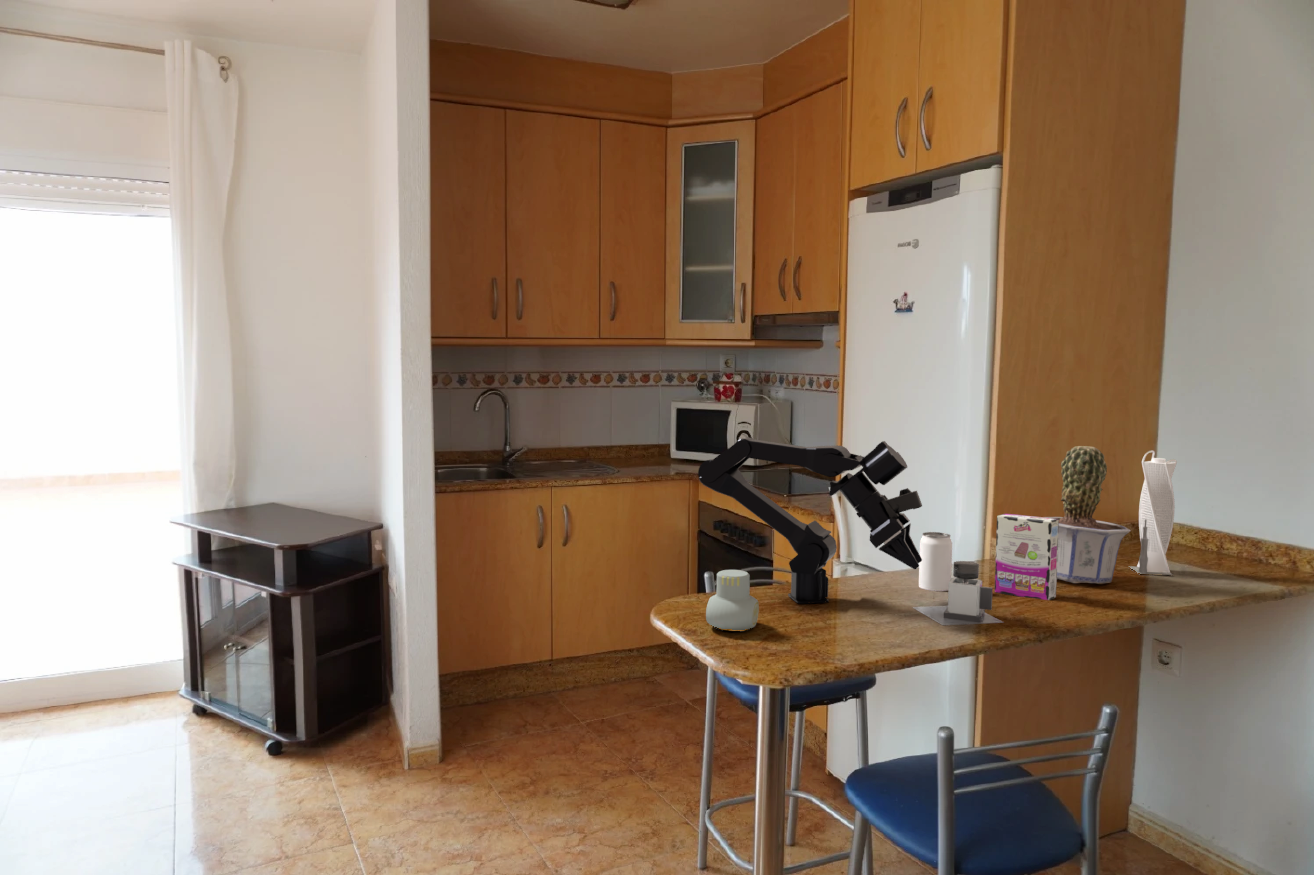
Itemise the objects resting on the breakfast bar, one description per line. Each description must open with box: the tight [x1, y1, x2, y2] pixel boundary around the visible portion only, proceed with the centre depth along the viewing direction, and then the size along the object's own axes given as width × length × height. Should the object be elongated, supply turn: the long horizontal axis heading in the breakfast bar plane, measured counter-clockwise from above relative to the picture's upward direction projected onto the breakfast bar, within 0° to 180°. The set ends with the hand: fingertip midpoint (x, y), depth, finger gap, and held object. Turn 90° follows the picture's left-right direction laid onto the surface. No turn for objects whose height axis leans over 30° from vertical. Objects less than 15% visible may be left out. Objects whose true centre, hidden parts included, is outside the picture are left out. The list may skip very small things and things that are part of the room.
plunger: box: [952, 560, 980, 584], centre depth 163 cm, size 4×4×8 cm
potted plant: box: [1043, 445, 1132, 585], centre depth 195 cm, size 18×18×30 cm
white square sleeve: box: [944, 576, 994, 622], centre depth 163 cm, size 8×6×6 cm
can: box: [918, 531, 953, 592], centre depth 185 cm, size 6×6×12 cm
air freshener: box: [705, 569, 760, 630], centre depth 158 cm, size 11×8×10 cm
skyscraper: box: [1128, 449, 1178, 576], centre depth 203 cm, size 8×8×28 cm
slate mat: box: [911, 605, 1005, 626], centre depth 165 cm, size 12×12×1 cm
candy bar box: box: [994, 513, 1059, 601], centre depth 182 cm, size 11×5×16 cm, turn 47°
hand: (918, 564), depth 167 cm, fingers open, 9 cm apart
